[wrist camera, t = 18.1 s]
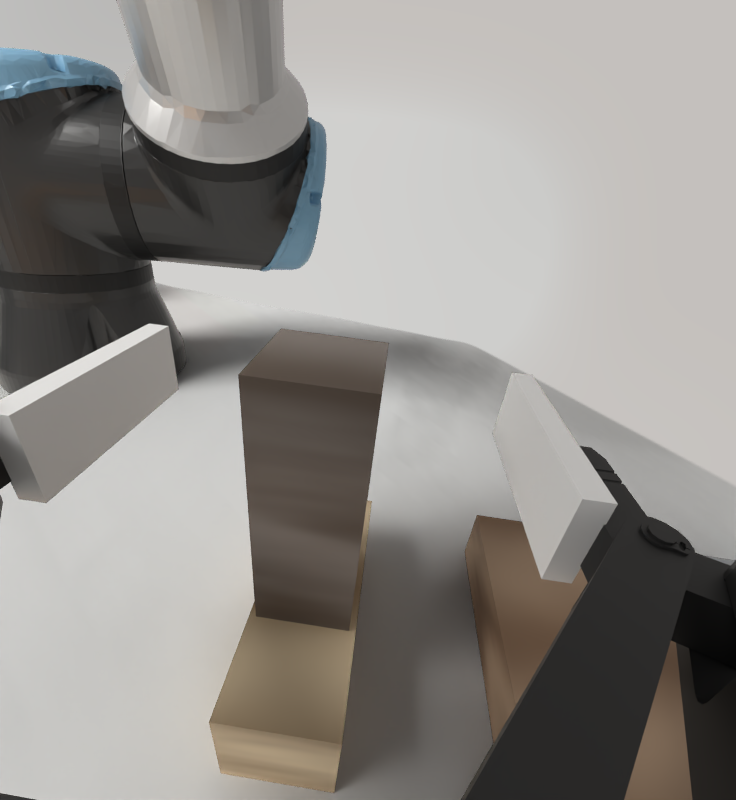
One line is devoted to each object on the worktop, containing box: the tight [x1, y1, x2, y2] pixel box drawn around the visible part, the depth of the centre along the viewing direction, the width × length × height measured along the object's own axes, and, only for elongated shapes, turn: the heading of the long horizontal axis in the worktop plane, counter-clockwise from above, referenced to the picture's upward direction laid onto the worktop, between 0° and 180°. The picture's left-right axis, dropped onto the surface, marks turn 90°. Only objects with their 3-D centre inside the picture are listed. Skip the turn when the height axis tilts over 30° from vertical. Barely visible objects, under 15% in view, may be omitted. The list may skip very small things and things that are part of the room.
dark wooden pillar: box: [209, 329, 389, 793], centre depth 14 cm, size 10×4×14 cm, turn 174°
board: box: [465, 515, 692, 800], centre depth 16 cm, size 12×10×3 cm
